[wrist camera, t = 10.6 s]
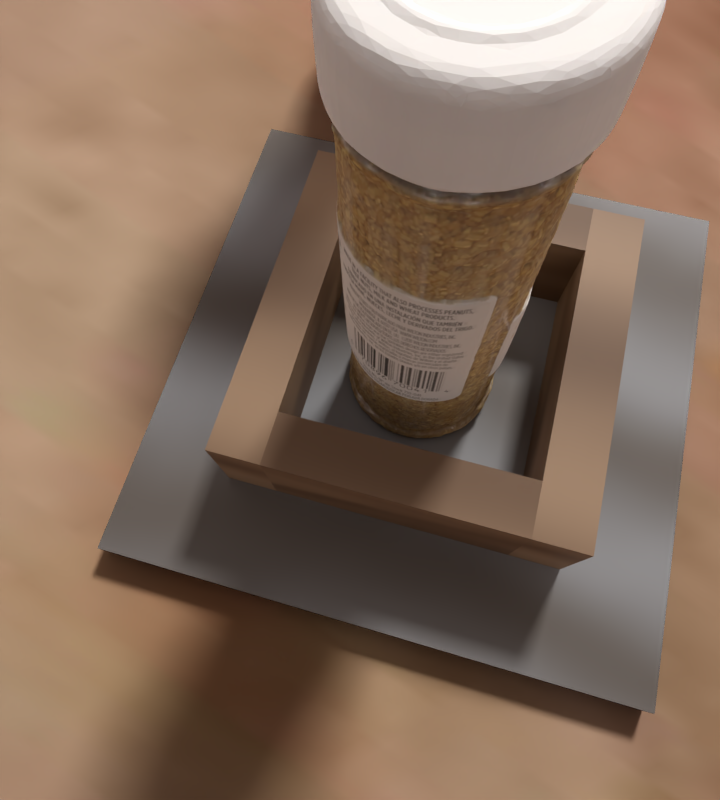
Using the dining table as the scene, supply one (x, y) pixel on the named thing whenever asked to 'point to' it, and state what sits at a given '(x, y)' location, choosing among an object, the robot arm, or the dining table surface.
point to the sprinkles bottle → (459, 176)
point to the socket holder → (434, 446)
